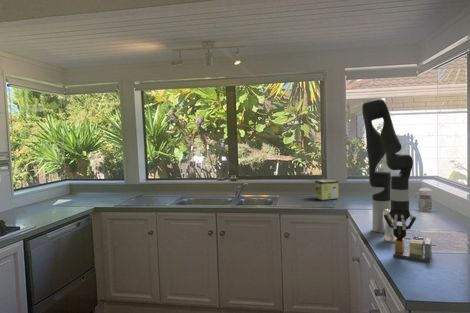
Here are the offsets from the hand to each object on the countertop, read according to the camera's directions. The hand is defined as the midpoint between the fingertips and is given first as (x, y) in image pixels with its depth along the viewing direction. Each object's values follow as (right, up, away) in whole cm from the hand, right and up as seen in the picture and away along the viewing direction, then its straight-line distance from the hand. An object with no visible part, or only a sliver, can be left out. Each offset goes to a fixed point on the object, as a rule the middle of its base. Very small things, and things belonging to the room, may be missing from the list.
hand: (399, 237), depth 162 cm
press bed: (+5, -8, -2) cm, 9 cm away
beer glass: (+5, -6, +21) cm, 23 cm away
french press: (+55, -1, +85) cm, 101 cm away
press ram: (0, -6, 0) cm, 6 cm away
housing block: (+6, -6, -3) cm, 9 cm away
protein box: (+1, +1, +133) cm, 133 cm away
